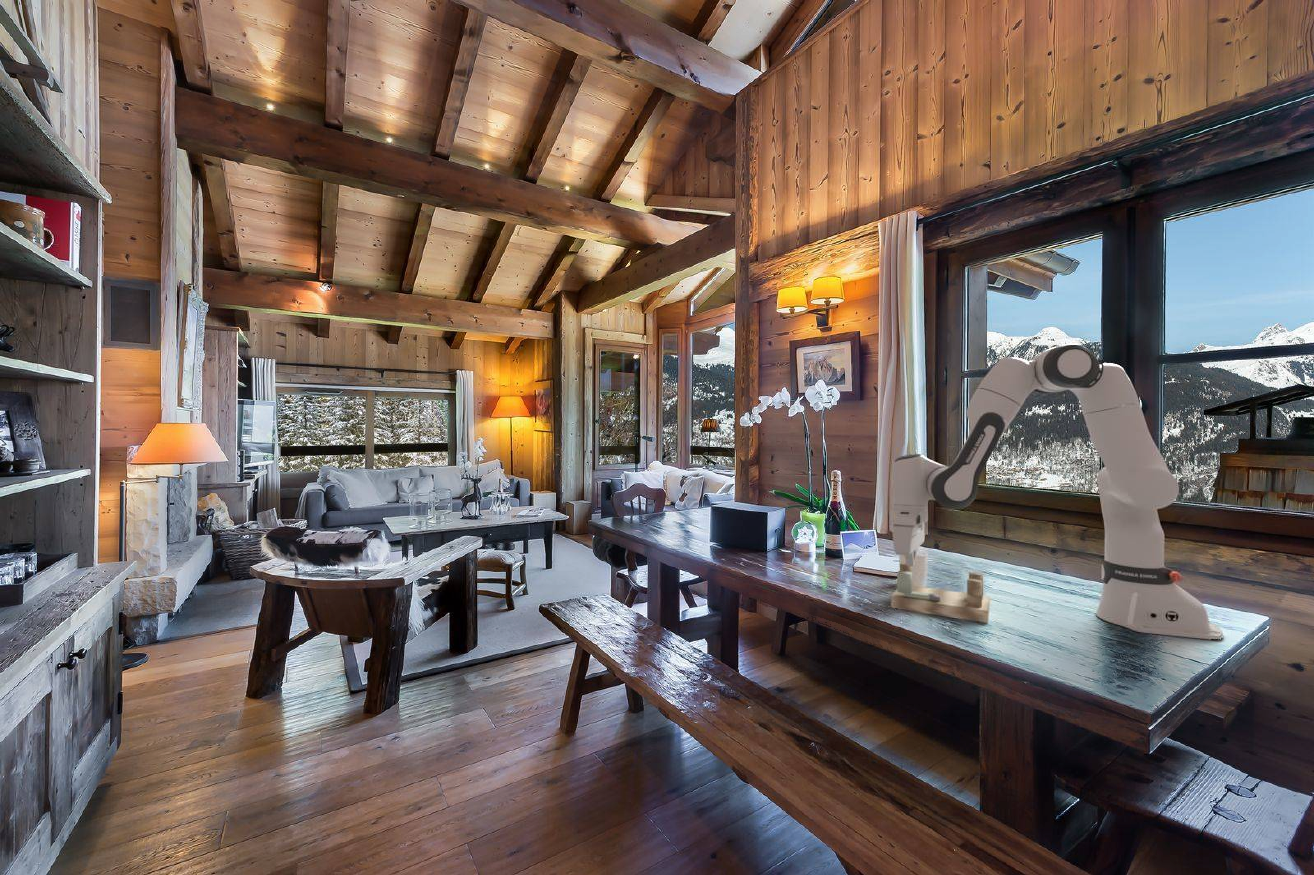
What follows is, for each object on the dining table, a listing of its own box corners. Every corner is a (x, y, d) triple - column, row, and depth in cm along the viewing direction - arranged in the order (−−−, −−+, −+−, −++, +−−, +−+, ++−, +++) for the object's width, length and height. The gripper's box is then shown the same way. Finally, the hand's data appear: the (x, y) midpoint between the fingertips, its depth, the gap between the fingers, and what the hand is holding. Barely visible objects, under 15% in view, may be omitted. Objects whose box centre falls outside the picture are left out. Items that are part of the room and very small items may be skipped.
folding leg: (940, 598, 144) (940, 575, 144) (939, 602, 141) (939, 578, 141) (898, 592, 149) (898, 570, 149) (896, 596, 146) (896, 573, 146)
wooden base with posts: (989, 607, 146) (989, 572, 146) (987, 623, 135) (988, 585, 135) (899, 594, 158) (899, 562, 158) (891, 607, 147) (891, 572, 146)
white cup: (921, 582, 170) (921, 549, 170) (931, 589, 163) (932, 555, 162) (895, 581, 171) (895, 549, 171) (903, 589, 163) (904, 555, 163)
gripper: (905, 508, 160) (906, 556, 161) (888, 518, 144) (889, 571, 144) (929, 510, 157) (930, 558, 157) (914, 520, 140) (915, 575, 140)
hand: (910, 565), depth 150 cm, fingers closed
